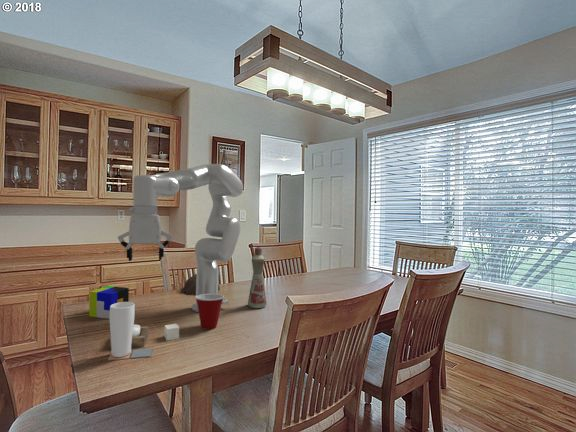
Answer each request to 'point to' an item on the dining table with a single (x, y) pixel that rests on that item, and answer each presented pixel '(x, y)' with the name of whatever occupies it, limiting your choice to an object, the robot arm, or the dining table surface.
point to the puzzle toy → (106, 300)
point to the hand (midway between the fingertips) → (145, 259)
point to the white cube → (171, 332)
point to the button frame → (139, 338)
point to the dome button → (136, 330)
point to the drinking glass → (121, 328)
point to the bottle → (257, 282)
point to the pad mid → (141, 353)
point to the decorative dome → (192, 285)
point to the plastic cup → (209, 309)
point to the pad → (119, 357)
